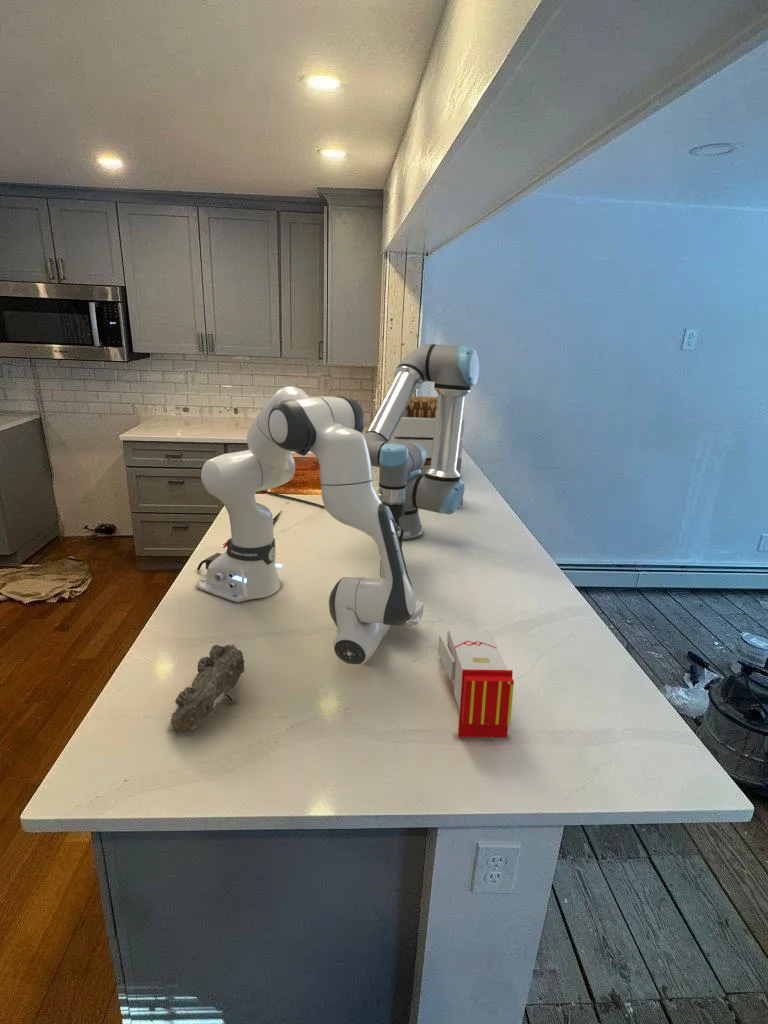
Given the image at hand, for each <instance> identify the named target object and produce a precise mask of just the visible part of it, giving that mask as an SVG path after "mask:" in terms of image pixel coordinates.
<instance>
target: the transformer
mask: <svg viewBox="0 0 768 1024" xmlns="http://www.w3.org/2000/svg"><path fill="white" fill-rule="evenodd" d="M437 400H438V396H415V395H413V396H412V398H411V400H410V402H409V404H408V406H407V408H406V410H405V411H404V413H403V415H402V417H401V419H400V421H399V423H398V425H397V427H396V429H395V431H394V433H393V435H392V437H391V439H390V441H389V443H394V444H401V445H408V444H413V443H416V444H419V445H421V446H422V447H423V448H424V450H425V452H426V461H425V463H424V465H423V466H422V467H430V466H431V456H432V447H433V437H434V428H435V419H436V409H437ZM464 429H465V419H464V418H462V424H461V433H460V441H459V450H458V458H457V466H456V470H457V471H458V473H459V474H460V475H461V472H462V461H463V460H462V453H463V442H464V441H463V440H462V439H463V438H464V431H465V430H464Z"/></svg>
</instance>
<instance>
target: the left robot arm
mask: <svg viewBox="0 0 768 1024" xmlns="http://www.w3.org/2000/svg"><path fill="white" fill-rule="evenodd" d="M364 428H365V414H364V411H363V408H362V406H361V405H360V404H359V402H358V401H357V400H355V399H353V398H351V397H347V396H344V395H343V396H342V395H337V396H330V395H325V396H324V395H319V396H317V395H316V396H309V394H308V393H307V392H305V391H304V390H303V389H302V388H299V387H297V386H292V385H291V386H283V387H281V388H279V389H278V390H277V391H276V392H275V393H274V394H273V395H272V396H271V397H270V398H268V400H267V401H266V403H265V404H264V405H263V407H262V408H261V410H260V411H259V412H258V414H257V416H256V418H255V420H254V421H253V422H252V424H251V426H250V428H249V429H248V431H247V435H246V444H247V447H248V449H245V450H240V451H233V452H227V453H222V454H220V455H217V456H214V457H212V458H210V459H208V460H206V461H205V462H204V464H203V466H202V468H201V471H200V472H201V473H200V479H201V483H202V486H203V488H204V489H205V491H206V492H207V493H208V494H209V495H210V496H211V497H213V498H215V499H217V500H218V501H220V503H222V504H223V506H224V507H225V509H226V512H227V514H228V517H229V524H230V534H231V535H230V536H231V537H230V538H229V539H227V540H226V541H225V542H224V543H223V544H222V548H223V549H225V548H226V547H227V549H226V551H224V552H222V553H220V552H216V553H214V554H212V555H210V556H208V557H206V558H205V559H203V560H202V561H200V562H199V564H198V566H197V568H196V570H197V571H201V568H202V565H204V564H205V570H206V574H205V575H204V576H203V577H202V578H200V579H199V582H198V583H197V584H198V585H197V588H198V589H199V590H201V591H204V592H206V593H209V594H212V595H215V596H217V597H221V598H223V599H225V600H229V601H232V602H234V603H242V602H245V601H249V600H255V599H256V600H257V599H263V598H267V597H269V596H273V595H275V593H277V592H278V591H279V590H280V589H281V586H282V585H281V582H280V578H279V575H278V571H277V568H283V564H281V563H276V539H275V537H274V525H273V519H274V516H273V513H272V511H271V510H270V508H269V507H267V506H266V505H265V504H262V503H259V502H257V501H256V497H255V496H256V493H257V492H259V491H262V490H264V491H267V490H271V489H275V488H278V487H280V486H283V485H284V484H287V483H288V482H290V481H292V479H293V478H294V476H295V472H296V462H295V459H294V456H293V454H291V453H292V452H293V453H296V454H297V455H300V456H301V457H305V456H306V455H307V454H309V452H311V453H312V454H313V455H314V456H315V457H316V458H317V461H318V465H319V479H320V480H319V483H320V491H321V499H322V503H323V504H322V505H323V506H325V508H324V509H325V510H326V512H327V513H328V514H329V516H331V517H332V518H333V519H335V520H336V521H337V522H339V523H341V524H343V525H345V526H348V527H351V528H353V529H355V530H358V531H360V532H362V533H364V534H366V535H368V537H370V538H371V539H372V540H373V541H374V543H375V544H376V546H377V549H378V553H379V556H380V562H381V561H382V565H383V569H384V573H385V577H386V578H384V579H382V578H381V577H379V578H378V577H363V576H362V577H359V576H343V577H342V578H340V579H338V581H337V582H336V583H335V585H334V586H333V588H332V590H331V592H330V594H329V598H328V609H329V614H330V617H331V619H332V621H333V623H334V625H335V627H336V634H335V639H334V642H333V651H334V653H335V655H336V657H337V658H338V659H339V660H340V661H342V662H343V663H346V664H347V665H353V666H355V665H356V666H358V665H362V664H364V663H365V662H367V661H368V660H369V659H371V657H372V656H373V655H374V654H375V652H376V650H377V649H378V648H379V646H380V644H381V642H382V639H383V638H384V637H385V636H386V634H387V633H388V631H389V629H390V628H391V627H401V626H403V627H413V626H416V625H418V623H419V622H420V620H421V619H422V617H423V615H424V607H425V606H424V603H423V602H422V600H417V599H416V595H415V594H416V593H415V590H414V587H413V584H412V581H411V579H410V576H409V573H408V569H407V566H406V561H405V557H404V552H403V547H402V548H401V544H400V540H399V536H398V532H397V528H396V524H395V521H394V518H393V515H392V512H391V510H390V508H389V507H388V506H386V505H385V504H383V503H382V502H381V501H380V499H379V497H378V493H377V490H376V488H375V485H374V476H373V475H374V474H373V466H371V460H370V455H369V451H368V447H367V443H366V440H365V438H364V434H362V433H363V432H364Z"/></svg>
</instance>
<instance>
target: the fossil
mask: <svg viewBox="0 0 768 1024" xmlns="http://www.w3.org/2000/svg"><path fill="white" fill-rule="evenodd" d="M244 658H245V657H244V653H243V652H242V650H240V649H238V648H237V646H236V645H235V644H227V645H224V646H223V645H218V644H214V645H213V646H212V647H211V649H210V650H209V656H202V657H201V658H200V659H199V660H198V662H197V667H196V668H197V670H196V671H197V672H198V673H197V674H196V676H195V677H194V678H193V681H192V683H191V685H190V686H187V687H185V688H184V689H183V690H181V692H179V694H178V695H177V696H176V698H175V701H174V702H175V704H176V705H177V708H176V709H175V711H174V712H172V713H171V718H170V724H171V729H172V730H176V731H177V732H179V733H180V732H181V733H182V732H185V731H190V730H192V731H193V730H195V729H197V728H198V727H199V726H200V725H201V724H202V723H203V722H204V721H206V720H207V719H208V718H209V716H211V715H212V714H213V713H214V712H215V711H216V710H217V709H219V706H220V705H221V703H222V702H223V701H224V700H226V698H227V699H228V701H230V702H234V699H233V698H232V696H230V695H229V693H230V691H231V690H234V689H235V687H236V686H237V685H238V682H239V680H240V679H241V676H242V674H244V673H245V667H246V666H245V659H244Z"/></svg>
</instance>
